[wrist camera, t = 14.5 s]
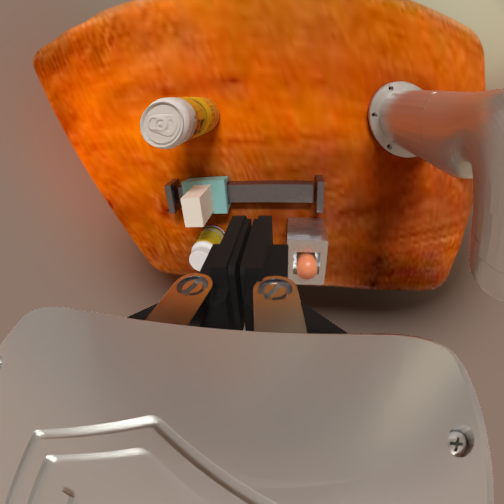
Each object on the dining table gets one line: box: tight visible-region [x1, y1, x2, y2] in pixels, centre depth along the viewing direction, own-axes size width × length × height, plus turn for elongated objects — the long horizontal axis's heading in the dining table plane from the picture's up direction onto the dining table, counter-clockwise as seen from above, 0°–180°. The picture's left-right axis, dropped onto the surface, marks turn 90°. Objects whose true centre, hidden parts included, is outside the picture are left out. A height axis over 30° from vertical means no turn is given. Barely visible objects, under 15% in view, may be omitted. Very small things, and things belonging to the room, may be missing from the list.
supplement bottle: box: [189, 225, 225, 271], centre depth 46 cm, size 5×5×8 cm
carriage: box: [180, 176, 231, 227], centre depth 41 cm, size 7×6×9 cm
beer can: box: [140, 97, 219, 149], centre depth 32 cm, size 6×6×15 cm
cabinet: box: [287, 217, 328, 285], centre depth 44 cm, size 6×8×8 cm
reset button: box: [297, 252, 317, 279], centre depth 41 cm, size 3×3×4 cm
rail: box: [165, 175, 324, 213], centre depth 43 cm, size 25×5×4 cm, turn 94°
